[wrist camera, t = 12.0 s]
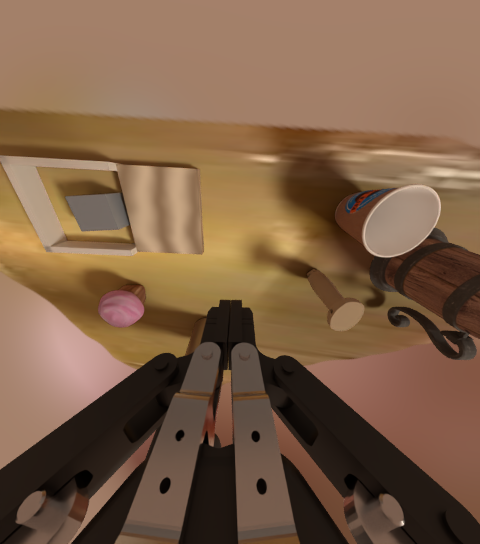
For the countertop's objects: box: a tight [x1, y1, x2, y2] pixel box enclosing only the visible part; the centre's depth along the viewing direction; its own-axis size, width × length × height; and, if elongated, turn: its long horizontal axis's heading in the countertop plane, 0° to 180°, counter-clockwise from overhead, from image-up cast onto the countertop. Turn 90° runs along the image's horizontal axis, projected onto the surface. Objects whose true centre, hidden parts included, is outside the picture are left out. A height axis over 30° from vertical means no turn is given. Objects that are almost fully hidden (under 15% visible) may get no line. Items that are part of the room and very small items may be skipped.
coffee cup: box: [335, 184, 441, 257], centre depth 30 cm, size 10×10×12 cm
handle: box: [307, 269, 364, 331], centre depth 35 cm, size 5×6×15 cm
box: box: [0, 155, 138, 256], centre depth 33 cm, size 17×16×4 cm
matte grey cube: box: [65, 193, 130, 231], centre depth 33 cm, size 7×6×5 cm
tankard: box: [370, 228, 480, 360], centre depth 33 cm, size 24×17×20 cm
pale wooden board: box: [116, 164, 204, 254], centre depth 34 cm, size 14×16×2 cm
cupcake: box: [98, 285, 146, 327], centre depth 40 cm, size 9×9×10 cm
